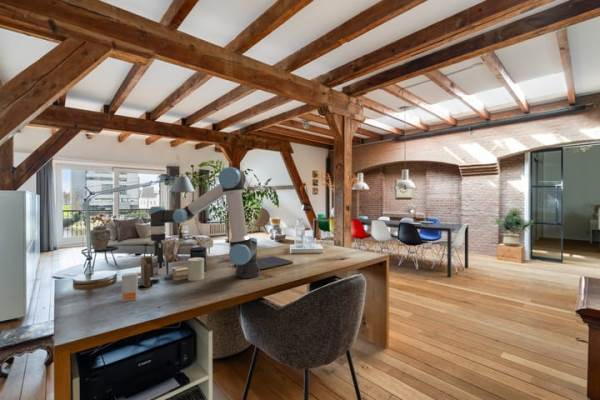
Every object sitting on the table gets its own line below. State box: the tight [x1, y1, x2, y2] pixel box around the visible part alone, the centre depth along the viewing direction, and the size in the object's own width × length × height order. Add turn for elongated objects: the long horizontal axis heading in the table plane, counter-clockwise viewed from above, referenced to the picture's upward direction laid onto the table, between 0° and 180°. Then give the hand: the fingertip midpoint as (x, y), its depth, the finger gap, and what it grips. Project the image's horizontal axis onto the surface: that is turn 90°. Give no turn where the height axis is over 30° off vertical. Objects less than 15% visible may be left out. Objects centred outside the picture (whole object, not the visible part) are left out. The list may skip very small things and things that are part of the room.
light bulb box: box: [151, 254, 167, 279], centre depth 161 cm, size 11×7×11 cm, turn 32°
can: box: [187, 257, 205, 282], centre depth 165 cm, size 9×9×12 cm
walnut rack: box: [140, 254, 170, 288], centre depth 162 cm, size 22×15×12 cm
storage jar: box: [189, 246, 207, 273], centre depth 180 cm, size 10×10×15 cm
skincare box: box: [121, 272, 139, 303], centre depth 131 cm, size 6×4×12 cm
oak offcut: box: [170, 271, 188, 281], centre depth 168 cm, size 10×8×3 cm
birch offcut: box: [171, 265, 188, 276], centre depth 168 cm, size 9×7×3 cm
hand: (159, 271), depth 161 cm, fingers closed on light bulb box, 11 cm apart
